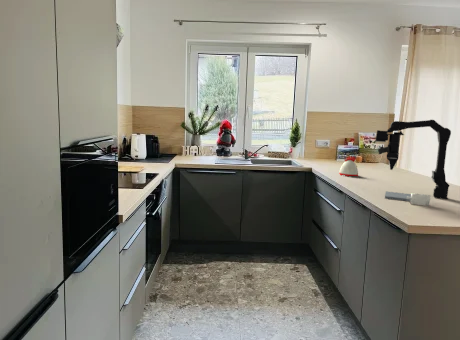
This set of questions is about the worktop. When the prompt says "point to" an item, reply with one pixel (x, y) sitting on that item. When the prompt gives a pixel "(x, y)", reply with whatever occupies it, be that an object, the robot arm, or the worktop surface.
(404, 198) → the slate mat
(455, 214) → the worktop surface
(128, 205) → the worktop surface
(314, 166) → the worktop surface
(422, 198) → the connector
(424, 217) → the worktop surface
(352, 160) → the kitchen timer
